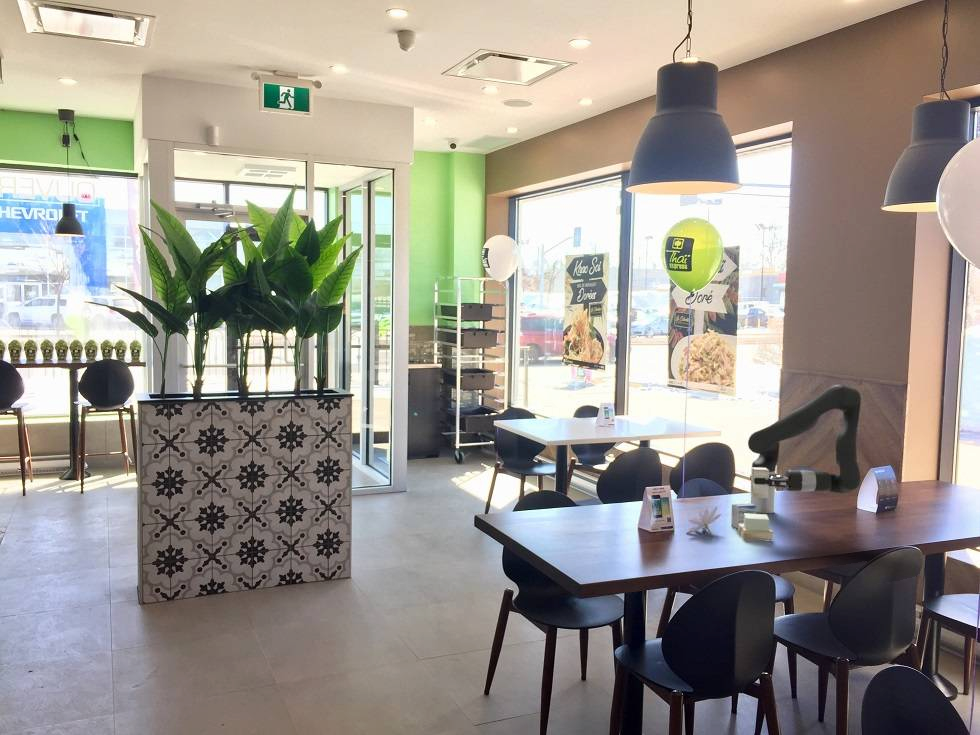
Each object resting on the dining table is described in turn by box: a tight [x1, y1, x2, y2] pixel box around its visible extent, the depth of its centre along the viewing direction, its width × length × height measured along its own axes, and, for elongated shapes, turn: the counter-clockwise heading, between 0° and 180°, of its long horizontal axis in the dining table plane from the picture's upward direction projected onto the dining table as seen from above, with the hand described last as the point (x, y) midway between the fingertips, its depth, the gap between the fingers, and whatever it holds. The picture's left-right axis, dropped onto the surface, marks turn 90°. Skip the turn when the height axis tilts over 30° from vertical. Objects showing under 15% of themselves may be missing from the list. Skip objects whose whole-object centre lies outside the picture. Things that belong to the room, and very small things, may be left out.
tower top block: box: [744, 513, 770, 531], centre depth 302 cm, size 8×8×4 cm
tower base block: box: [737, 524, 774, 541], centre depth 302 cm, size 10×10×4 cm
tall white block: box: [750, 466, 769, 498], centre depth 302 cm, size 5×5×10 cm
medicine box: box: [730, 502, 757, 529], centre depth 317 cm, size 8×4×9 cm, turn 105°
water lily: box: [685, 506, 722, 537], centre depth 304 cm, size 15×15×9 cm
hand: (752, 479), depth 302 cm, fingers closed on tall white block, 5 cm apart
